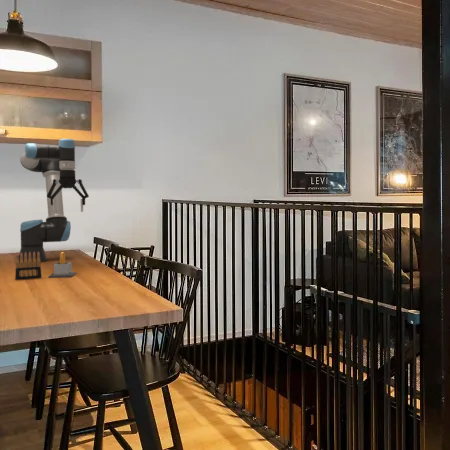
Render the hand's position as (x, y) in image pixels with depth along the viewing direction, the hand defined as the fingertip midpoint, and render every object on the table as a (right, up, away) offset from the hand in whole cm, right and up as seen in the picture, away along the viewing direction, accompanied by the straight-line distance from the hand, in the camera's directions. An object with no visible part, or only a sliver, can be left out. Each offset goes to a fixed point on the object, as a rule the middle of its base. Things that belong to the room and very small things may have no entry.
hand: (68, 211), depth 240 cm
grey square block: (+5, -29, -22) cm, 37 cm away
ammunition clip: (-8, -31, -30) cm, 44 cm away
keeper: (+5, -30, -22) cm, 37 cm away
